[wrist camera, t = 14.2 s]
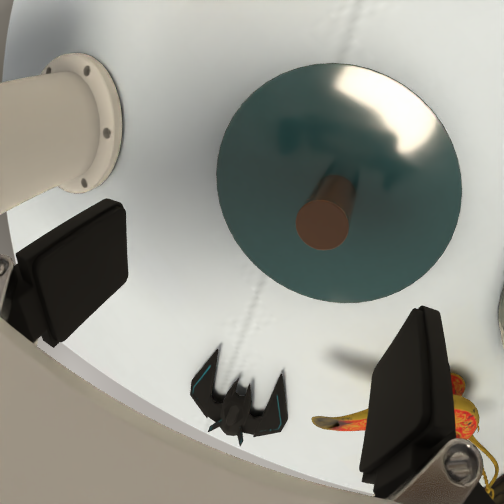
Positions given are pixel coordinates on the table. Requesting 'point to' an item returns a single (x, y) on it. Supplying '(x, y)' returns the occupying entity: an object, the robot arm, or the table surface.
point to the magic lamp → (463, 422)
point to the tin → (501, 316)
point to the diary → (498, 490)
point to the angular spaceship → (237, 406)
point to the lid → (339, 183)
